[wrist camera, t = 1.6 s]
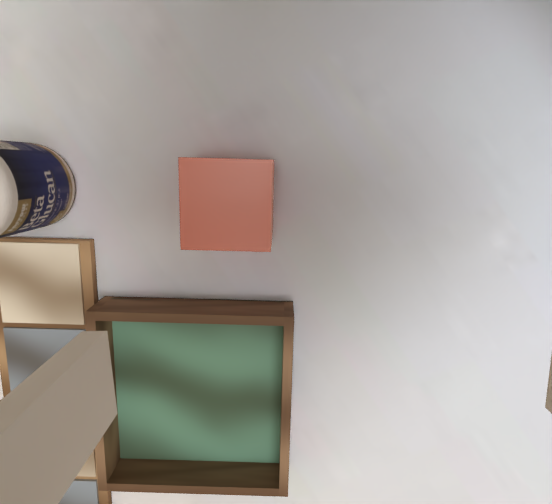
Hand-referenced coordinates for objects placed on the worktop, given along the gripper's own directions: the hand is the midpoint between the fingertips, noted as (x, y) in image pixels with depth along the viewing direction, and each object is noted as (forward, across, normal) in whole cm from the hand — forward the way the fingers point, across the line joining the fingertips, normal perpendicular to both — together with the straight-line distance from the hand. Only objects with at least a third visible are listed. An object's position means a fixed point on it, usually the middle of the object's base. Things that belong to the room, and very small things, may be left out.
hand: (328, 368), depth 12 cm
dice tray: (+16, -8, -10) cm, 20 cm away
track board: (+16, -18, -11) cm, 26 cm away
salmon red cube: (+16, -4, +4) cm, 17 cm away
